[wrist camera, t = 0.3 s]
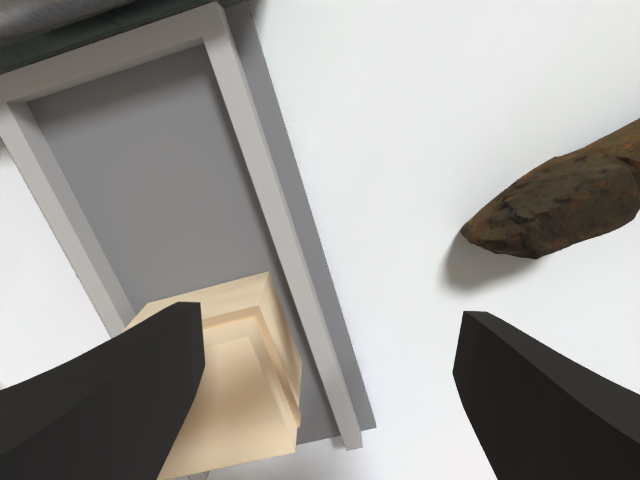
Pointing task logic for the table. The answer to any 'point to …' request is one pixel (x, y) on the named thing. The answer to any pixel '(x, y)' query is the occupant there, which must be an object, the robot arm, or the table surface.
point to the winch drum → (71, 24)
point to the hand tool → (564, 200)
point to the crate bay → (183, 187)
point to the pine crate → (238, 379)
